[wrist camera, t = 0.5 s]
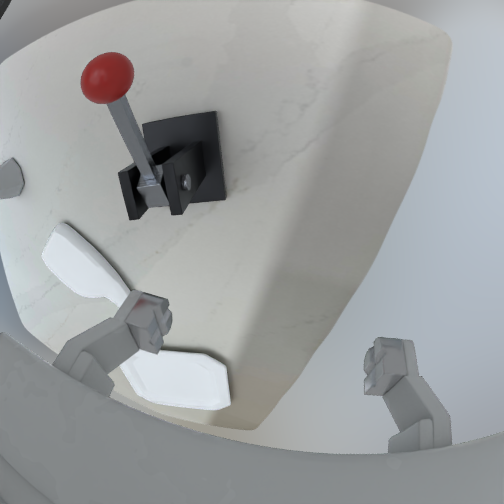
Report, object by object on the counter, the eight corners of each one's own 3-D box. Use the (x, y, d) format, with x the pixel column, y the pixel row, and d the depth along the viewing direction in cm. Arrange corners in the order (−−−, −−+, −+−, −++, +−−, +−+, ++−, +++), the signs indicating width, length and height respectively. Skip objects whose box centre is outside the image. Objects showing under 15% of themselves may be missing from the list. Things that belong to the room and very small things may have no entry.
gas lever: (87, 55, 12) (63, 78, 10) (133, 38, 12) (112, 56, 10) (147, 184, 24) (139, 214, 23) (182, 179, 24) (177, 210, 22)
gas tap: (145, 123, 29) (90, 140, 18) (216, 110, 28) (192, 116, 18) (160, 203, 35) (121, 254, 24) (226, 196, 34) (212, 248, 23)
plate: (110, 337, 50) (106, 344, 48) (225, 347, 50) (224, 357, 48) (142, 394, 63) (140, 401, 61) (232, 404, 62) (231, 411, 61)
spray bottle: (65, 214, 35) (173, 310, 45) (45, 252, 39) (140, 333, 49) (55, 222, 33) (169, 322, 43) (36, 260, 36) (136, 344, 46)
